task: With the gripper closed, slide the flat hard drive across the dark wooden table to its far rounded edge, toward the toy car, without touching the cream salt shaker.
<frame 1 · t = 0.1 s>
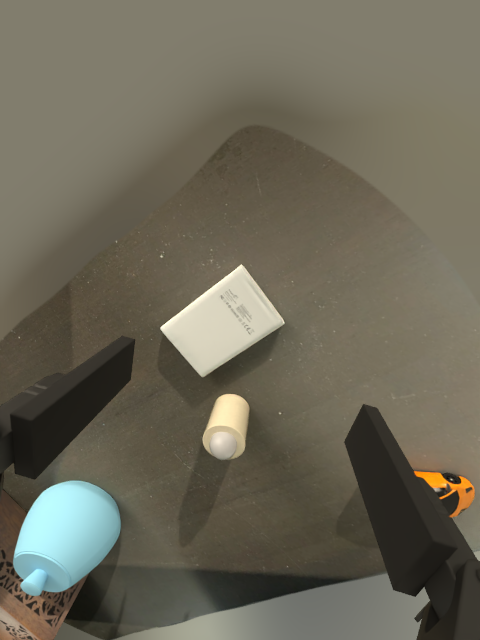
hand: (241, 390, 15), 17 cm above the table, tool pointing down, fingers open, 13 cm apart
tissue box cover: (24, 539, 53), on the table
sugar bowl: (87, 505, 46), on the table
salt shaker: (231, 409, 36), on the table
toy car: (411, 484, 36), on the table
hard drive: (222, 321, 32), on the table
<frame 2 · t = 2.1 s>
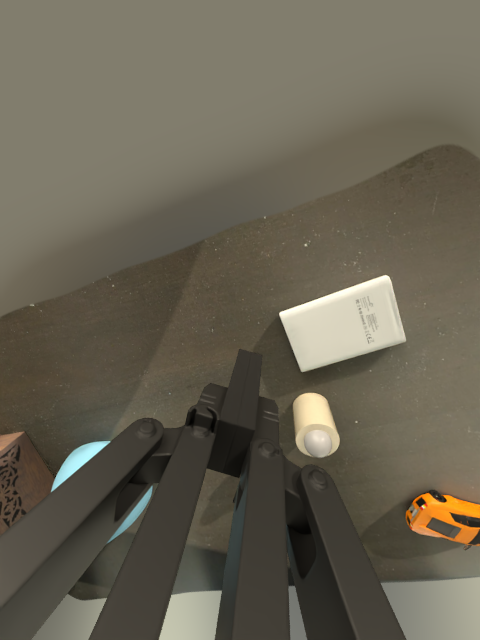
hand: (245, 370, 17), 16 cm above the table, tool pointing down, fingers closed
tissue box cover: (29, 488, 50), on the table
sugar bowl: (116, 468, 45), on the table
salt shaker: (310, 407, 36), on the table
toy car: (448, 510, 39), on the table
hard drive: (338, 323, 32), on the table
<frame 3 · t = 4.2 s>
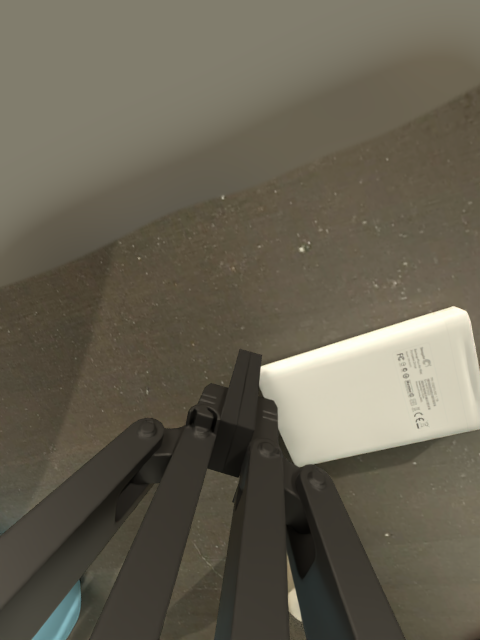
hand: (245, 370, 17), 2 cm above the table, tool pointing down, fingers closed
sugar bowl: (34, 568, 31), on the table
salt shaker: (312, 511, 22), on the table
hard drive: (361, 387, 18), on the table, touching gripper
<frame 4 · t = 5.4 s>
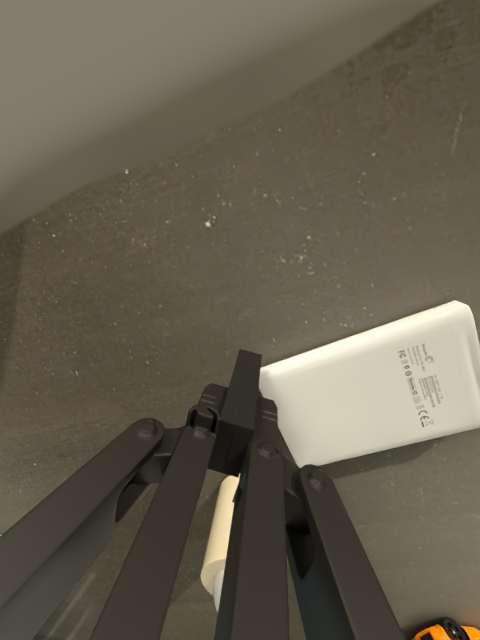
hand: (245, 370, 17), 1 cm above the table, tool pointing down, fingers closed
salt shaker: (248, 494, 22), on the table
hard drive: (363, 386, 18), on the table, touching gripper
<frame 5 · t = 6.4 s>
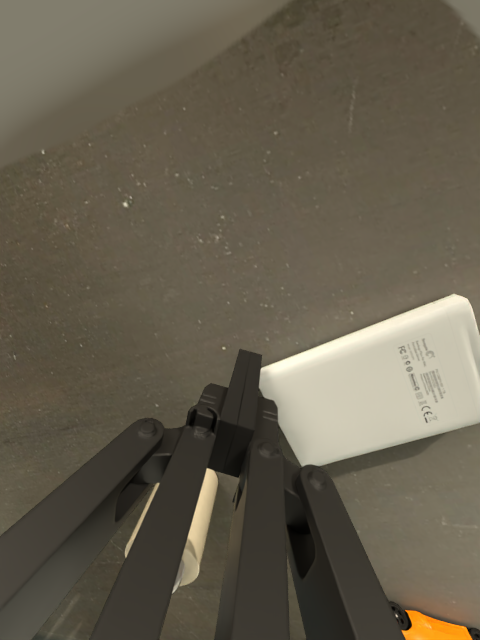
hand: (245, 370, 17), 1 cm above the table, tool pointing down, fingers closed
salt shaker: (189, 478, 22), on the table
toy car: (418, 628, 25), on the table
hard drive: (365, 383, 18), on the table, touching gripper
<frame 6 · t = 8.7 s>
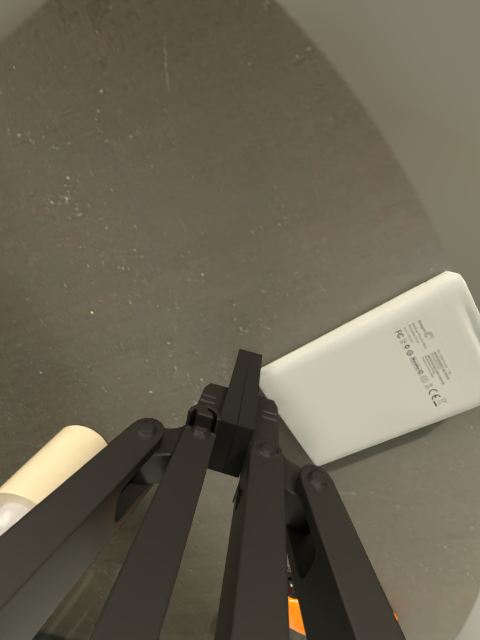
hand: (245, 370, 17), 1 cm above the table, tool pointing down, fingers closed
salt shaker: (83, 448, 23), on the table
toy car: (320, 599, 26), on the table
hard drive: (368, 372, 17), on the table, touching gripper
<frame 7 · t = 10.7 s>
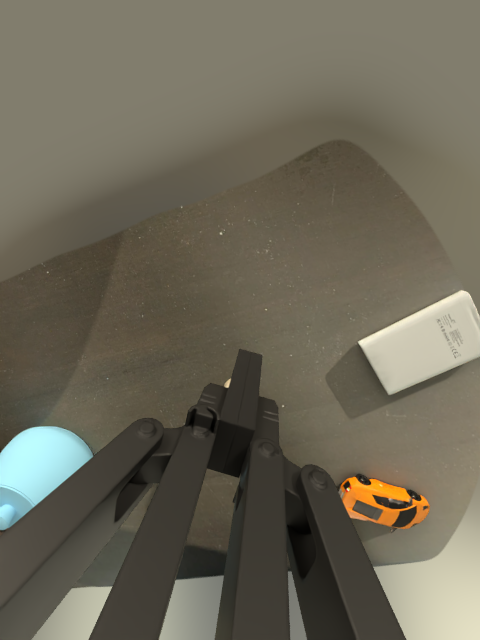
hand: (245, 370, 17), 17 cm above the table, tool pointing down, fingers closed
sugar bowl: (62, 454, 46), on the table
toy car: (377, 494, 40), on the table
hard drive: (418, 342, 32), on the table
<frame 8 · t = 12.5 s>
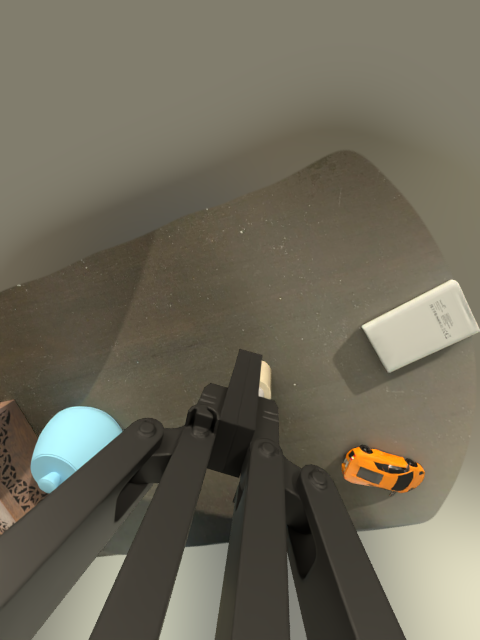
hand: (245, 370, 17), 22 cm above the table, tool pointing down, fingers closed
tissue box cover: (19, 453, 56), on the table
sugar bowl: (95, 431, 51), on the table
salt shaker: (256, 372, 42), on the table
toy car: (378, 463, 45), on the table
hard drive: (414, 326, 37), on the table
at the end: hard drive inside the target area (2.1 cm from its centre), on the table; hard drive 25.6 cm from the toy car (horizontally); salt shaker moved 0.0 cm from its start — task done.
